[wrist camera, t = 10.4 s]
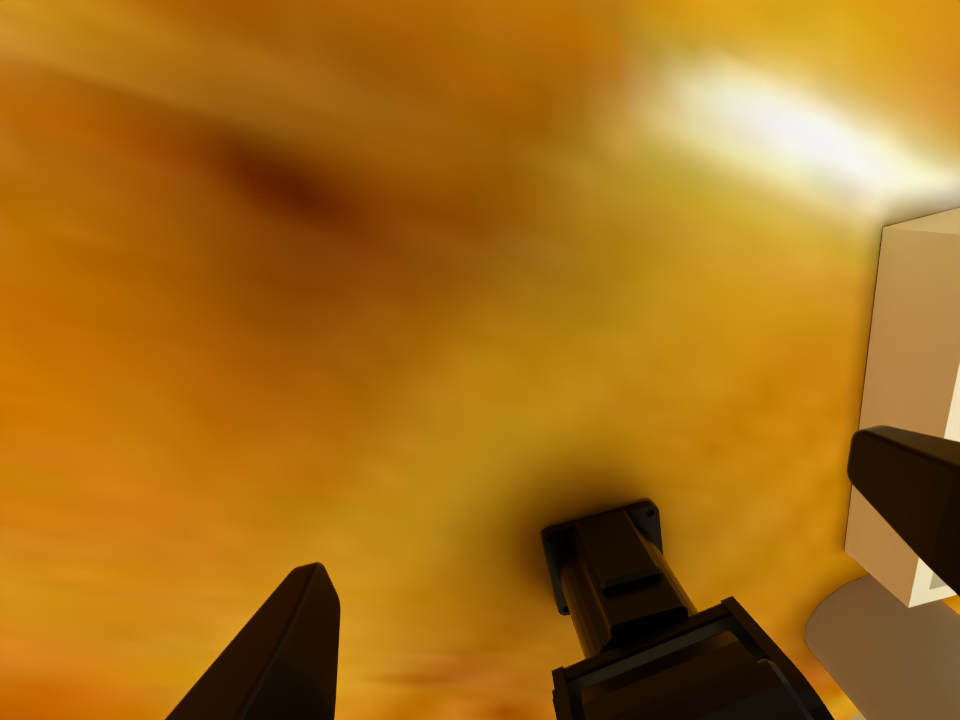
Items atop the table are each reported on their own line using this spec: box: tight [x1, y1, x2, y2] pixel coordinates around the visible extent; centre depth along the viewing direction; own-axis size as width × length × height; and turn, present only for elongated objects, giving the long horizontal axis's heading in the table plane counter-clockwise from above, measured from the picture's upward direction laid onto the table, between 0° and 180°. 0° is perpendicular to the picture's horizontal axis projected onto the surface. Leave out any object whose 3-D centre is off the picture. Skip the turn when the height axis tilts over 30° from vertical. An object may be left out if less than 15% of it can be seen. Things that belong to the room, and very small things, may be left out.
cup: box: [804, 574, 960, 720], centre depth 26 cm, size 8×8×10 cm
